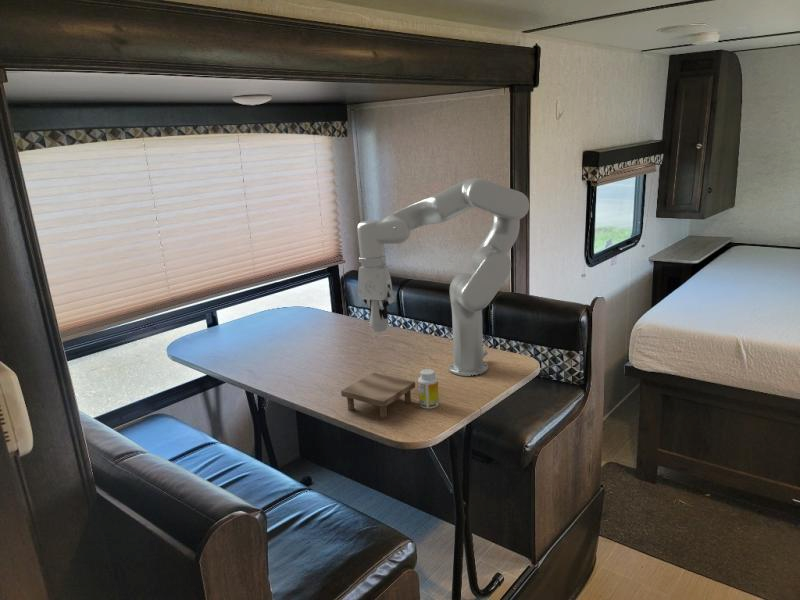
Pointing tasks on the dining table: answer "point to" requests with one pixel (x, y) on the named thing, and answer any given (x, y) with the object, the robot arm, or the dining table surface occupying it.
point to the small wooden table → (378, 391)
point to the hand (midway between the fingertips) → (378, 319)
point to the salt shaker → (377, 318)
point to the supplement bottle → (428, 389)
